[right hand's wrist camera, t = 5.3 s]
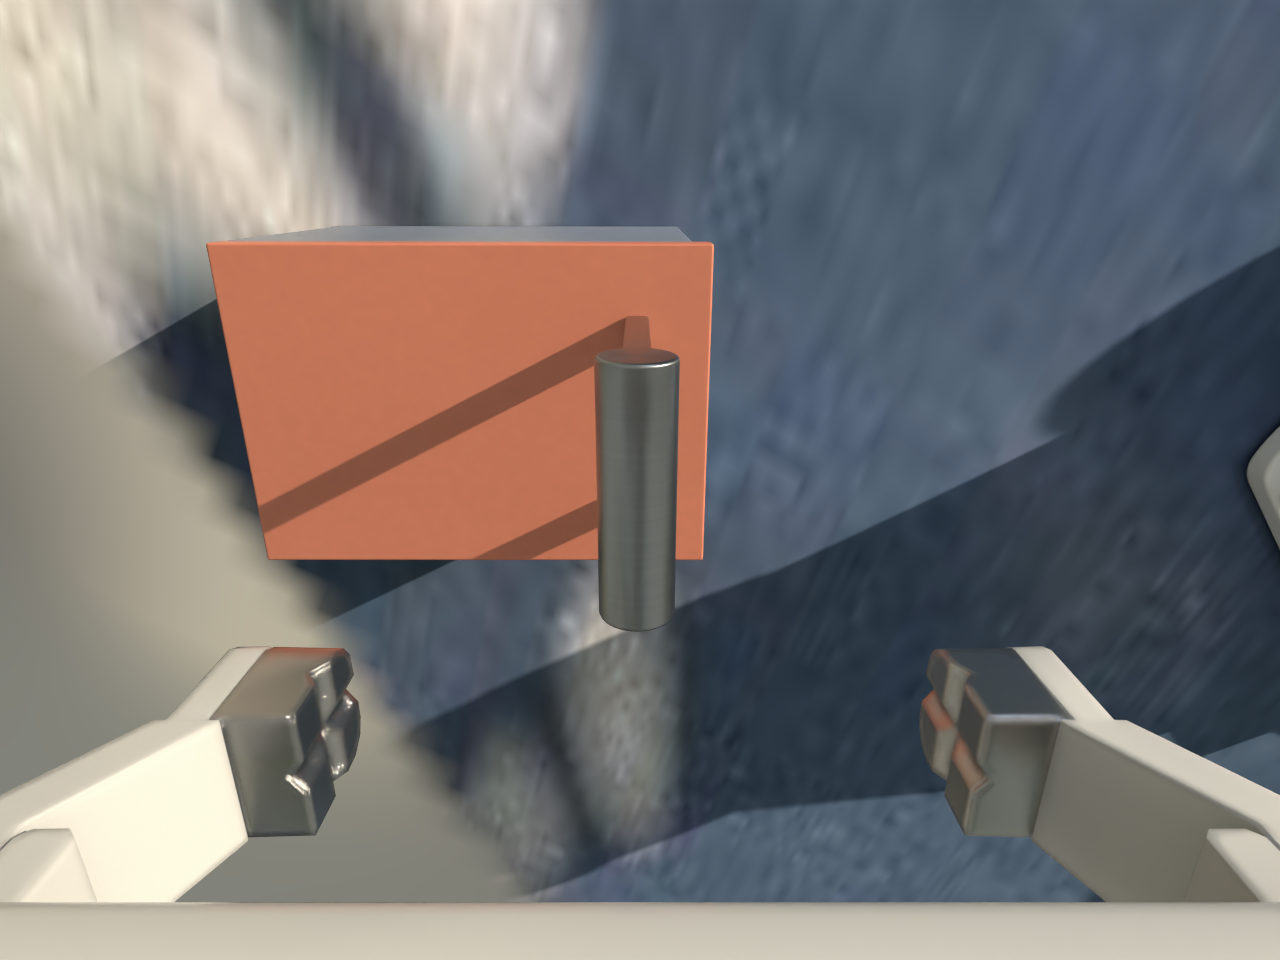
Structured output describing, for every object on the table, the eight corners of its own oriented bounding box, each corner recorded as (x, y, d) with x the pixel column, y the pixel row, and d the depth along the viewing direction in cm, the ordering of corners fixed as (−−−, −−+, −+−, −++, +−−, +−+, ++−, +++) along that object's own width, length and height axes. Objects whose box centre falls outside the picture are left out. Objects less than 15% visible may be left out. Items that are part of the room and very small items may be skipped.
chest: (677, 226, 31) (693, 241, 23) (673, 457, 35) (685, 548, 26) (339, 226, 31) (222, 240, 23) (370, 457, 35) (280, 547, 26)
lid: (710, 241, 23) (749, 269, 15) (700, 548, 26) (727, 699, 18) (221, 241, 22) (1, 268, 15) (280, 548, 26) (128, 699, 18)
